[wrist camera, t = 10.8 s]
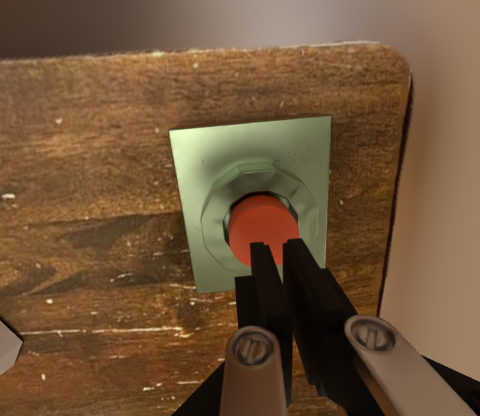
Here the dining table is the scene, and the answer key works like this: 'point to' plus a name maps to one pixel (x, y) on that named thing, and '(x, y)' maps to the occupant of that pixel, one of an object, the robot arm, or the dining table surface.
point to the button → (260, 227)
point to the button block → (249, 185)
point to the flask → (8, 348)
